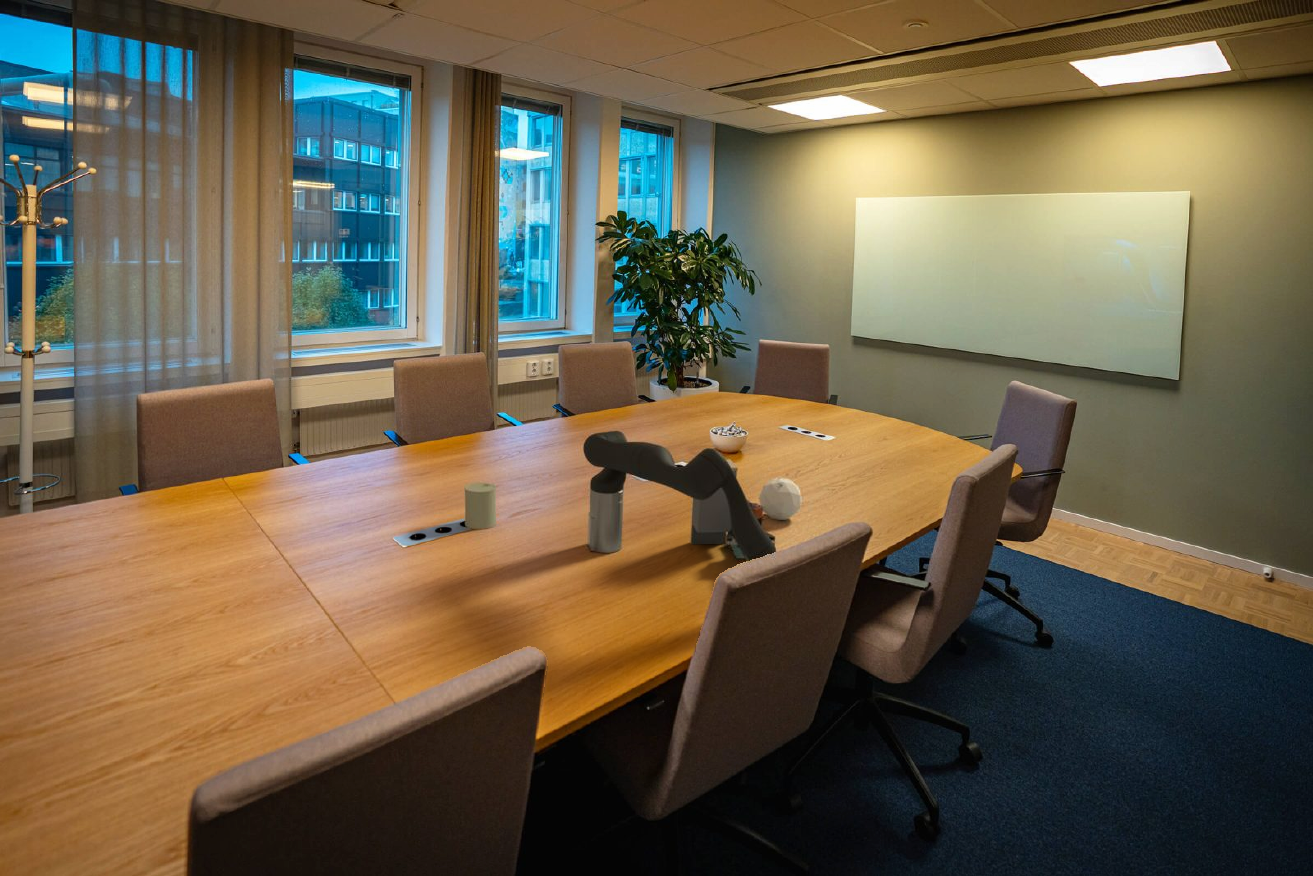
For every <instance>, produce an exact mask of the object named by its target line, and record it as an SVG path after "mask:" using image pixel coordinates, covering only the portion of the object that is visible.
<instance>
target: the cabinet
mask: <svg viewBox="0 0 1313 876" xmlns="http://www.w3.org/2000/svg"><path fill="white" fill-rule="evenodd" d="M725 459H726V460H727V462H728V463H729V465H730V467H731V468H732V470H733V472H734V474H735V476H736V477H737V473H738V470H739V467H738V466H737V465H736V464H735V463H734V462H733V461H732V460H731V459H730V458H728V459H727V458H725ZM691 513H692V514H691V529H690V543H691V545H709V544H710V545H715V544H716V545H717V544H726V543H727V533H728V531H731V519H730V511H729V506H728V501H727V498H726V495H725V493H724V491H723V490H722V488H720V489H719V490H717V491H716V492H715V493H714V494H713V495H712V496H711V497H709V498H708V499H706V500H698V499H694V498H692V509H691Z"/></svg>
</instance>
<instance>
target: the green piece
mask: <svg viewBox="0 0 1313 876" xmlns="http://www.w3.org/2000/svg"><path fill="white" fill-rule="evenodd" d="M730 548H731V549H732V550H733V555H735V557H736V559H746V558H745V557H744V555H743V554H742V552H741V549H740V548H738V547H737V546H736V545H733V546H731V547H730Z"/></svg>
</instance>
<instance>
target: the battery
mask: <svg viewBox="0 0 1313 876" xmlns="http://www.w3.org/2000/svg"><path fill="white" fill-rule="evenodd" d="M747 501H748V503H749V505H750V507H751V509H752V511H753V513H754V515H755V517H756V519H757V520H758V522H759V523H760V525H761V526H763V525H762V524H763V513H764V512H763V506H761V504H759V503H757V502H751V501H750V500H749V499H747Z"/></svg>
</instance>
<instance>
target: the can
mask: <svg viewBox="0 0 1313 876" xmlns="http://www.w3.org/2000/svg"><path fill="white" fill-rule="evenodd" d="M496 493H497V486H496V485H495V484H493V483H489V482H473V483H469V484H466V485H465V487H464V504H465V505H464V507H465V509H464V510H465V511H464V515H465V520H464V525H465V527H467V528H468V529H473V530H486V529H487V530H488V529H491V528H493V527H495V526H497V513H496V512H497V511H496V508H497V505H496V501H497V499H496V498H497V497H496Z"/></svg>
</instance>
